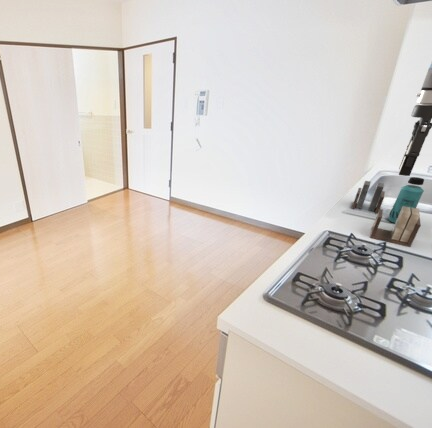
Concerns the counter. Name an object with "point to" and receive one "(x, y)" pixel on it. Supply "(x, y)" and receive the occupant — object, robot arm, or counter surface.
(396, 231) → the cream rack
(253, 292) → the counter surface
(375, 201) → the grey rack
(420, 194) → the beverage bottle
